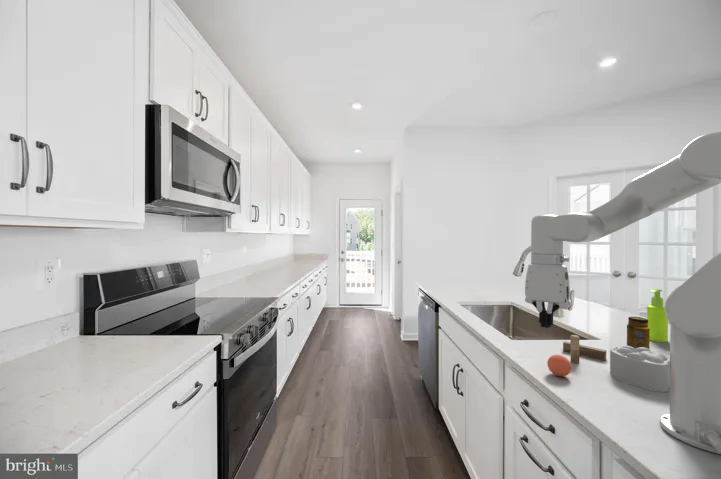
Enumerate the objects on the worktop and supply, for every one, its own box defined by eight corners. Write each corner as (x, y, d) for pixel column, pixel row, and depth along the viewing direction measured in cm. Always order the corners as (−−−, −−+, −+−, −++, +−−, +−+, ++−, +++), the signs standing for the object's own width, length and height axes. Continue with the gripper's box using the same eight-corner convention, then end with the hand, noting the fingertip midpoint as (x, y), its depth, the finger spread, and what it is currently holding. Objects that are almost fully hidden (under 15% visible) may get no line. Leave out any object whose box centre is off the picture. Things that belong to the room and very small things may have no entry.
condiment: (654, 352, 110) (654, 318, 110) (646, 358, 105) (646, 322, 105) (627, 346, 116) (627, 314, 116) (619, 351, 111) (619, 317, 111)
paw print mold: (664, 394, 81) (664, 361, 81) (604, 376, 91) (604, 347, 91) (675, 383, 87) (675, 352, 86) (617, 367, 97) (617, 340, 97)
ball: (573, 381, 88) (573, 360, 88) (548, 377, 90) (548, 357, 90) (569, 373, 93) (569, 353, 93) (546, 369, 96) (546, 350, 96)
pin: (580, 364, 100) (580, 337, 100) (571, 362, 101) (571, 336, 101) (578, 361, 102) (578, 335, 102) (569, 360, 103) (569, 334, 103)
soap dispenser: (642, 339, 124) (642, 289, 124) (651, 336, 127) (651, 287, 127) (661, 343, 119) (661, 291, 118) (670, 341, 121) (670, 289, 121)
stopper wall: (604, 360, 103) (604, 351, 103) (563, 350, 112) (563, 342, 112) (606, 359, 104) (606, 350, 104) (564, 349, 113) (564, 341, 113)
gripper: (583, 261, 82) (582, 330, 83) (523, 258, 94) (523, 318, 94) (574, 262, 78) (573, 336, 78) (512, 259, 89) (512, 323, 89)
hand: (546, 326), depth 86 cm, fingers closed
